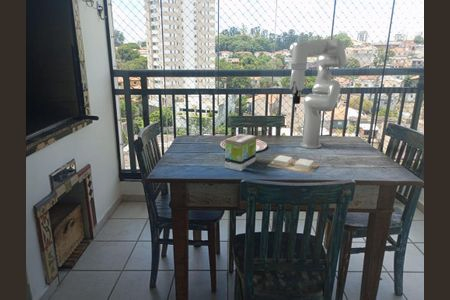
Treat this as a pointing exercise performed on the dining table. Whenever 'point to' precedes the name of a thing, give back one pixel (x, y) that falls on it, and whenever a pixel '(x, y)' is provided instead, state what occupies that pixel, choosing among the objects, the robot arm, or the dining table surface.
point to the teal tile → (304, 164)
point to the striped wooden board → (291, 167)
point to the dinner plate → (259, 145)
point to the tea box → (240, 151)
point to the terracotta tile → (282, 160)
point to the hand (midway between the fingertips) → (296, 103)
